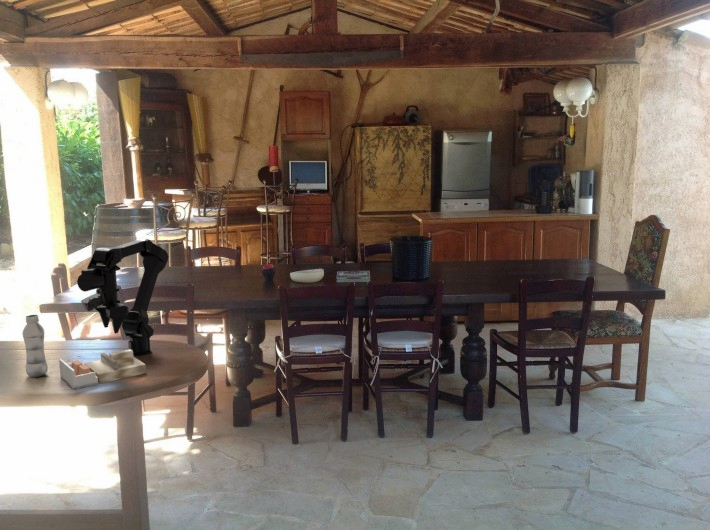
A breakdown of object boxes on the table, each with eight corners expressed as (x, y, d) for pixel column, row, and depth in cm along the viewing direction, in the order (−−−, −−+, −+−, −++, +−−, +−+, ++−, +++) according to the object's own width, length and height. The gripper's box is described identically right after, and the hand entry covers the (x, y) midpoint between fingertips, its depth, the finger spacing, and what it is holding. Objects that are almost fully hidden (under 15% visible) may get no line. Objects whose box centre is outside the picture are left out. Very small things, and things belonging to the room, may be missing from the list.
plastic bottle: (25, 380, 204) (19, 319, 200) (27, 373, 210) (21, 314, 206) (48, 377, 206) (42, 317, 202) (48, 371, 212) (43, 312, 209)
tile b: (85, 364, 204) (78, 365, 202) (89, 368, 200) (83, 369, 199) (86, 377, 204) (79, 379, 203) (90, 381, 201) (84, 383, 200)
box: (83, 372, 211) (82, 354, 210) (98, 384, 201) (96, 365, 200) (60, 377, 207) (59, 359, 206) (74, 389, 196) (72, 370, 195)
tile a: (78, 360, 208) (71, 361, 206) (82, 363, 204) (76, 364, 203) (79, 373, 209) (72, 374, 207) (83, 377, 205) (77, 378, 204)
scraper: (125, 355, 219) (124, 345, 218) (139, 364, 210) (138, 354, 209) (101, 360, 214) (100, 350, 213) (114, 370, 205) (113, 359, 204)
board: (129, 362, 221) (129, 353, 221) (145, 373, 211) (145, 364, 210) (84, 371, 212) (84, 363, 211) (99, 383, 201) (98, 374, 201)
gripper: (73, 284, 216) (77, 328, 219) (93, 293, 202) (96, 341, 205) (106, 279, 223) (110, 322, 226) (127, 288, 209) (130, 334, 212)
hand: (111, 330), depth 217 cm, fingers open, 9 cm apart
